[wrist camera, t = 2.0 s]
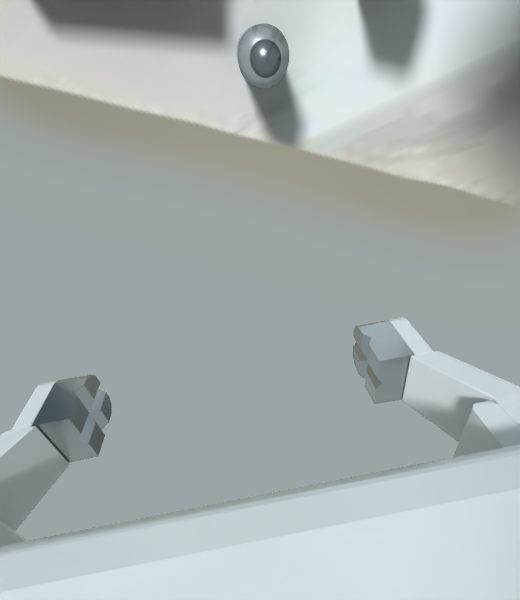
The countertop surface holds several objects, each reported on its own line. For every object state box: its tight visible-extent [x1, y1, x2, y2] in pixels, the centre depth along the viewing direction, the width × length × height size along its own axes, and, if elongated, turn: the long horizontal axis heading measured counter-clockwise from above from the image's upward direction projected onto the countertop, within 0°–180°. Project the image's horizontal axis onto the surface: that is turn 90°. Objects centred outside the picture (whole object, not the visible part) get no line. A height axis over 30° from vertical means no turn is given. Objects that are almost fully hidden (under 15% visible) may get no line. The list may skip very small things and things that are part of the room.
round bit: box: [237, 24, 289, 88], centre depth 24 cm, size 4×4×9 cm
